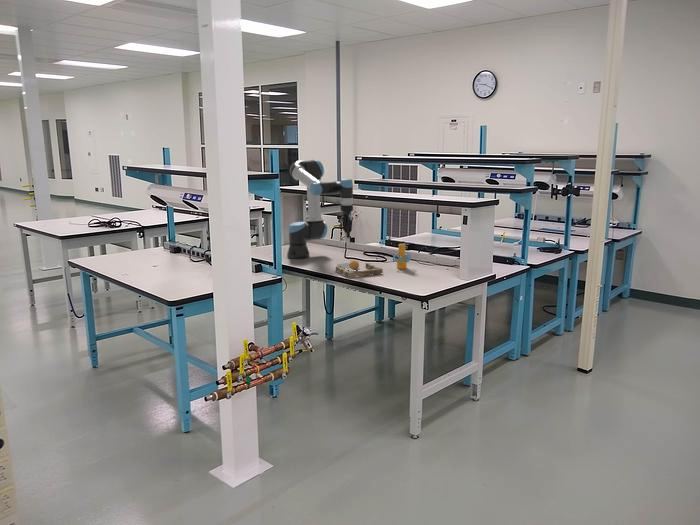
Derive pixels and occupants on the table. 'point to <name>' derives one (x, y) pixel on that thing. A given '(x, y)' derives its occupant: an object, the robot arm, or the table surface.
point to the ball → (354, 265)
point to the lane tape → (346, 266)
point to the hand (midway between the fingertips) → (347, 242)
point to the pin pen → (370, 266)
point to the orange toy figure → (401, 257)
